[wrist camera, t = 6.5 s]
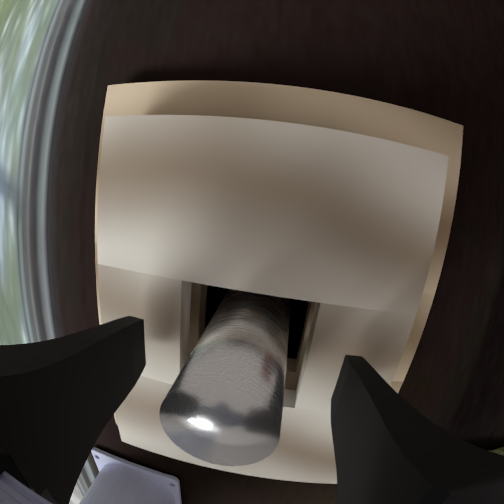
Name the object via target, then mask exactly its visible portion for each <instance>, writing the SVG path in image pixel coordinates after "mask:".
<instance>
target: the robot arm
mask: <svg viewBox="0 0 504 504" xmlns="http://www.w3.org/2000/svg"><path fill="white" fill-rule="evenodd" d="M145 366H146V355H145V336H144V319H141V318H137V317H133V316H126V317H122V318H119V319H116V320H113V321H110V322H107V323H104V324H101V325H98V326H95V327H93V328H90V329H87V330H84V331H80V332H77V333H74V334H70V335H67V336H64V337H60V338H56V339H51V340H47V341H41V342H36V343H27V344H17V345H0V504H69V501H70V498H71V495H72V493H73V490H74V487H75V485H76V482H77V480H78V478H79V475H80V473H81V470H82V468H83V466H84V464H85V462H86V460H87V458H88V456H89V454H90V452H92V454H93V457H94V459H95V462H96V464H97V467H98V469H99V474H98V475H97V477H96V478H95V480H94V482H93V483H92V485H91V486H90V488H89V489H88V491H87V492H86V494H85V495H84V497H83V499H82V500H81V502H80V503H79V504H182V502H181V492H180V482H179V479H178V478H177V477H175V476H172V475H168V474H165V473H162V472H159V471H156V470H152V469H149V468H147V467H144V466H141V465H138V464H135V463H132V462H130V461H127V460H124V459H122V458H119V457H117V456H114V455H112V454H110V453H107V452H105V451H102V450H100V449H98V448H93V446H94V444H95V442H96V440H97V439H98V437H99V435H100V433H101V431H102V430H103V428H104V427H105V425H106V424H107V423H108V421H109V420H110V419H111V417H112V416H113V414H114V413H115V412H116V410H117V409H118V408H119V406H120V405H121V404H122V402H123V401H124V400H125V399H126V397H127V396H128V394H129V393H130V392H131V390H132V389H133V388H134V386H135V385H136V383H137V381H138V379H139V378H140V376H141V374H142V372H143V370H144V368H145ZM331 429H332V438H333V446H334V454H335V462H336V471H337V501H336V504H504V455H500V454H497V453H494V452H491V451H488V450H484V449H482V448H479V447H477V446H475V445H472V444H470V443H468V442H466V441H464V440H462V439H460V438H458V437H456V436H454V435H452V434H451V433H449V432H447V431H445V430H444V429H442V428H440V427H439V426H437V425H436V424H434V423H433V422H431V421H430V420H429V419H427V418H426V417H425V416H423V415H422V414H421V413H419V412H418V411H417V410H416V409H414V408H413V407H412V406H411V405H410V404H409V403H408V402H406V401H405V400H404V399H403V398H402V397H401V396H400V395H399V394H398V393H397V392H396V391H395V390H394V389H393V388H392V387H391V386H390V385H389V384H388V383H387V382H386V381H385V380H384V379H383V378H382V377H381V376H380V375H379V374H378V372H377V371H376V370H375V369H374V368H373V367H372V366H371V365H370V364H369V363H368V362H367V361H366V360H365V359H364V358H363V357H362V356H354V355H345V357H344V361H343V364H342V367H341V370H340V373H339V377H338V380H337V383H336V386H335V389H334V392H333V395H332V397H331ZM92 448H93V449H92Z"/></svg>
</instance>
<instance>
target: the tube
mask: <svg viewBox="0 0 504 504" xmlns="http://www.w3.org/2000/svg"><path fill="white" fill-rule="evenodd" d="M289 325H290V302H289V299H288V298H284V297H277V296H271V295H265V294H258V293H252V292H246V291H240V290H234V289H229V290H228V292H227V293H226V295H225V297H224V298H223V300H222V302H221V304H220V305H219V307H218V309H217V310H216V312H215V314H214V315H213V317H212V319H211V320H210V322H209V324H208V326H207V327H206V329H205V331H204V332H203V334H202V336H201V337H200V339H199V341H198V343H197V344H196V346H195V348H194V349H193V351H192V353H191V354H190V356H189V358H188V360H187V361H186V363H185V365H184V366H183V368H182V370H181V371H180V373H179V375H178V377H177V378H176V380H175V382H174V383H173V385H172V387H171V388H170V390H169V392H168V394H167V395H166V397H165V399H164V400H163V402H162V404H161V407H160V412H159V417H160V422H161V425H162V427H163V430H164V431H165V433H166V434H167V436H168V437H169V438H170V439H171V441H172V442H173V443H174V444H175V445H177V446H178V447H179V448H180V449H182V450H183V451H185V452H186V453H188V454H190V455H191V456H193V457H195V458H198V459H200V460H203V461H205V462H209V463H212V464H217V465H223V466H244V465H250V464H254V463H257V462H259V461H262V460H264V459H265V458H267V457H268V456H270V455H271V454H272V453H273V452H274V450H275V449H276V448H277V446H278V444H279V440H280V431H281V421H282V411H283V400H284V389H285V378H286V366H287V353H288V339H289Z"/></svg>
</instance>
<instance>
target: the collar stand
mask: <svg viewBox="0 0 504 504" xmlns="http://www.w3.org/2000/svg"><path fill="white" fill-rule="evenodd" d="M462 139H463V125H460V124H457V123H454V122H451V121H448V120H445V119H442V118H439V117H436V116H433V115H429V114H426V113H423V112H419V111H416V110H412V109H409V108H405V107H401V106H397V105H393V104H389V103H385V102H381V101H377V100H372V99H367V98H363V97H358V96H353V95H348V94H342V93H336V92H331V91H324V90H318V89H311V88H304V87H296V86H287V85H278V84H267V83H254V82H237V81H201V80H193V81H157V82H140V83H128V84H117V85H108V89H107V94H106V100H105V107H104V114H103V121H102V128H101V137H100V146H99V156H98V168H97V183H96V205H95V263H96V285H97V300H98V312H99V323H100V325H101V324H104V323H107V322H110V321H113V320H116V319H119V318H122V317H126V316H133V317H137V318H141V319H144V336H145V355H146V366H145V368H144V370H143V372H142V374H141V376H140V378H139V379H138V381H137V383H136V385H135V386H134V388H133V389H132V390H131V392H130V393H129V394H128V396H127V397H126V399H125V400H124V401H123V402H122V404H121V405H120V406H119V408H118V409H117V410H116V412H115V413H114V417H115V422H116V424H117V425H118V428H119V432H120V436H121V440H122V441H123V442H125V443H128V444H131V445H134V446H136V447H139V448H142V449H145V450H148V451H151V452H154V453H157V454H160V455H164V456H167V457H170V458H174V459H177V460H181V461H184V462H188V463H192V464H196V465H200V466H204V467H209V468H213V469H218V470H222V471H227V472H232V473H238V474H243V475H249V476H256V477H262V478H270V479H278V480H287V481H297V482H310V483H330V484H337V471H336V462H335V454H334V446H333V438H332V429H331V397H332V395H333V392H334V389H335V386H336V383H337V380H338V377H339V373H340V370H341V367H342V364H343V361H344V357H345V355H354V356H362V357H363V358H364V359H365V360H366V361H367V362H368V363H369V364H370V365H371V366H372V367H373V368H374V369H375V370H376V371H377V372H378V374H379V375H380V376H381V377H382V378H383V379H384V380H385V381H386V382H387V383H388V384H389V385H390V386H391V387H392V388H393V389H394V390H395V391H396V392H397V393H398V392H399V390H400V388H401V386H402V383H403V381H404V379H405V376H406V374H407V372H408V369H409V367H410V364H411V362H412V359H413V357H414V354H415V352H416V349H417V346H418V344H419V341H420V338H421V335H422V332H423V330H424V327H425V324H426V321H427V318H428V315H429V312H430V308H431V305H432V302H433V299H434V295H435V292H436V288H437V285H438V281H439V277H440V274H441V270H442V266H443V262H444V258H445V253H446V249H447V244H448V240H449V235H450V230H451V225H452V219H453V214H454V208H455V202H456V195H457V188H458V181H459V172H460V163H461V152H462ZM208 285H210V286H216V287H222V288H228V289H234V290H240V291H246V292H252V293H258V294H265V295H271V296H277V297H284V298H291V299H297V300H304V301H309V303H308V308H307V313H306V318H305V322H304V327H303V332H302V337H301V341H300V346H299V350H298V355H297V359H293V358H287V366H286V378H285V389H284V400H283V411H282V421H281V431H280V440H279V444H278V446H277V448H276V449H275V450H274V452H273V453H272V454H271V455H270V456H268V457H267V458H265V459H264V460H262V461H259V462H257V463H254V464H250V465H244V466H223V465H217V464H212V463H209V462H205V461H203V460H200V459H198V458H195V457H193V456H191V455H190V454H188V453H186V452H185V451H183V450H182V449H180V448H179V447H178V446H177V445H175V444H174V443H173V442H172V441H171V439H170V438H169V437H168V436H167V434H166V433H165V431H164V430H163V427H162V425H161V422H160V417H159V412H160V407H161V404H162V402H163V400H164V399H165V397H166V395H167V394H168V392H169V390H170V388H171V387H172V385H173V383H174V382H175V380H176V378H177V377H178V375H179V373H180V371H181V370H182V368H183V366H184V365H185V363H186V361H187V360H188V358H189V356H190V354H191V353H192V351H193V349H194V348H195V346H196V344H197V343H198V341H199V339H200V337H201V336H202V334H203V332H204V331H205V317H206V302H207V288H208Z"/></svg>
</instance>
